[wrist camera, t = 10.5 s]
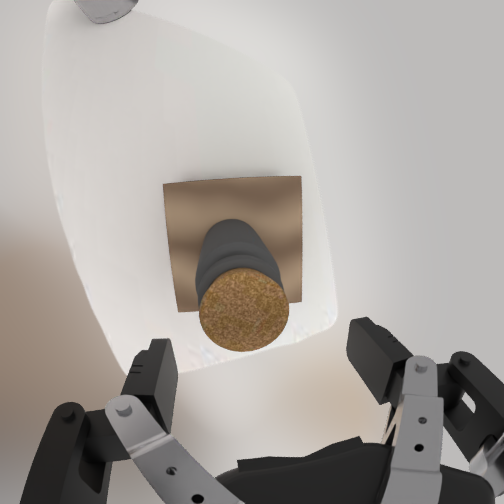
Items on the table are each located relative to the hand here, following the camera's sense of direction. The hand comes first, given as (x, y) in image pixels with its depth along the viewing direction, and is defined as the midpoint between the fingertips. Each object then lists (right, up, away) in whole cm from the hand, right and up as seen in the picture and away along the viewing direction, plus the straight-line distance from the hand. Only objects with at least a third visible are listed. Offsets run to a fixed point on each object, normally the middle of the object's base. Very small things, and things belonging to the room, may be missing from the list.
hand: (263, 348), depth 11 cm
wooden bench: (-3, +7, +26) cm, 27 cm away
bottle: (-3, +5, +17) cm, 18 cm away
